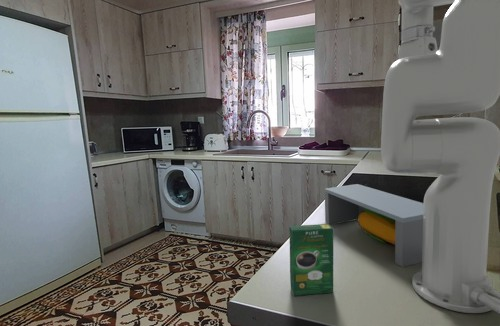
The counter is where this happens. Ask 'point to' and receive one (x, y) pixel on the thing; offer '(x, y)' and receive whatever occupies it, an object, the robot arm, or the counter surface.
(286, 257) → the counter surface
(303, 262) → the coffee box
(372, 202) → the cover
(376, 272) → the counter surface
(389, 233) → the corn
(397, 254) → the grey bridge shelf
